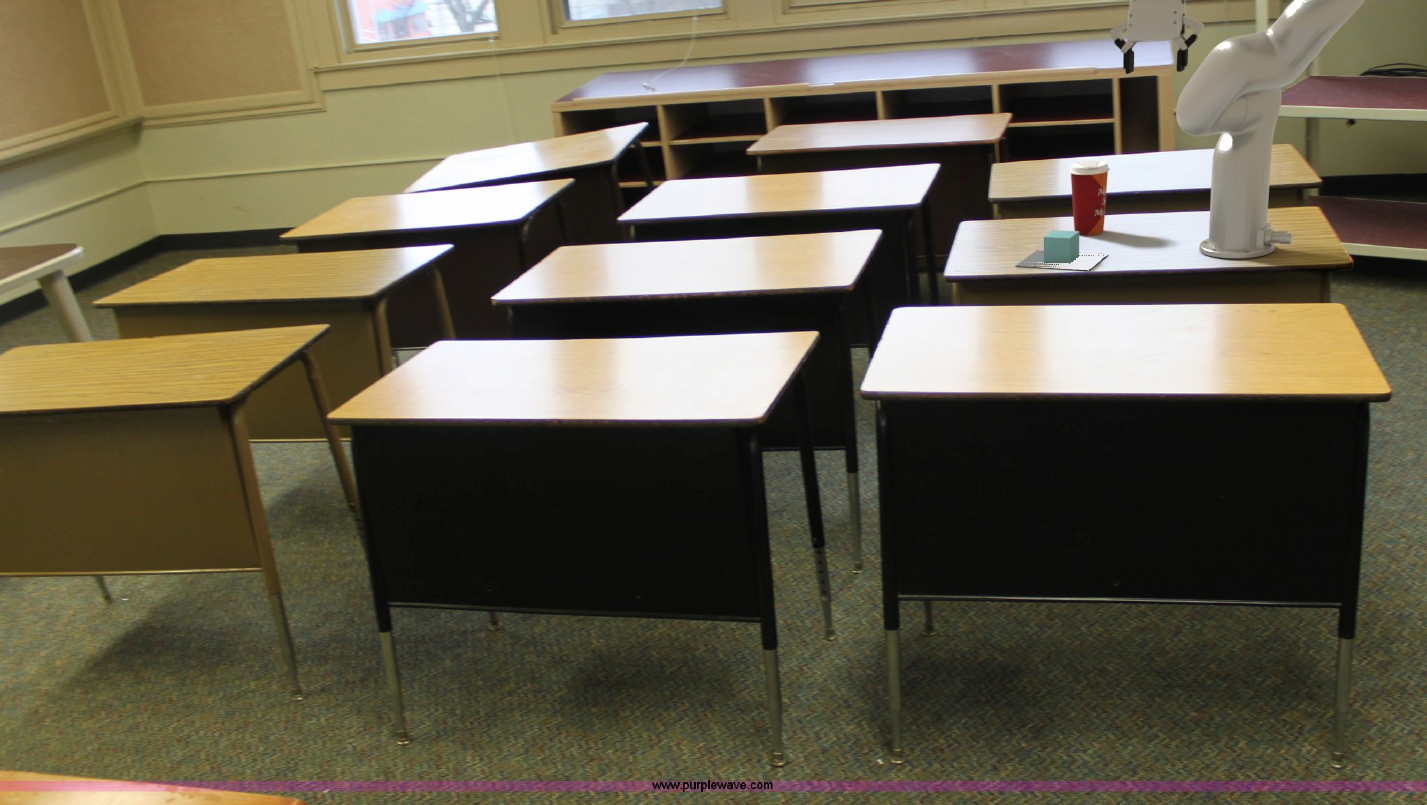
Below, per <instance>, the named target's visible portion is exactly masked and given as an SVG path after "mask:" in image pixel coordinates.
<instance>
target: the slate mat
mask: <svg viewBox="0 0 1427 805" xmlns="http://www.w3.org/2000/svg"><path fill="white" fill-rule="evenodd" d="M1079 256H1080V255H1079ZM1081 256H1083V255H1081ZM1084 256H1085V255H1084ZM1086 256H1087V255H1086ZM1088 256H1090V255H1088ZM1091 256H1092V255H1091ZM1093 256H1094V255H1093ZM1098 256H1099V255H1098ZM1103 256H1104V255H1103ZM1025 262H1026V263H1025ZM1028 262H1029V263H1028ZM1030 262H1031V263H1030ZM1032 262H1033V263H1032ZM1035 262H1036V263H1035ZM1037 262H1043V263H1044V250H1040V249H1038V250H1034V252H1032V253H1031V254H1030V255H1028V256H1027V257H1025V258H1024V259H1023V260H1021V261H1019V262H1018V263H1017V264H1016V265H1015V266H1017V267H1016V268H1027V267H1050V266H1046V265H1053V264H1047V263H1046V264H1045V263H1044V264H1043V263H1037ZM1030 265H1031V266H1030ZM1032 265H1033V266H1032ZM1037 265H1038V266H1037ZM1039 265H1045V266H1039ZM1054 265H1055V264H1054ZM1056 265H1057V264H1056ZM1058 265H1059V264H1058ZM1018 266H1019V267H1018ZM1051 267H1052V266H1051ZM1053 267H1054V266H1053ZM1055 267H1056V266H1055Z"/></svg>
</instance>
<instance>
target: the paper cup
mask: <svg viewBox="0 0 1427 805" xmlns="http://www.w3.org/2000/svg"><path fill="white" fill-rule="evenodd" d="M1108 166H1109V165H1108V163H1107V161H1103V160H1086V161H1085V160H1084V161H1079V162H1074V163H1072V164H1071V166H1070V169H1069V173H1070V182H1071V195H1072V196H1071V198H1072V199H1071V200H1072V215H1073V226H1074V227H1073V229H1074V230H1073V231H1079V236H1081V235H1085V236H1084V237H1089V236H1088V235H1093V236H1098V235H1102V234H1103V232H1104V228H1105V215H1106V203H1107V191H1108V190H1107V187H1108V176H1109V175H1108V174H1109V171H1110V168H1109V167H1108ZM1086 235H1087V236H1086Z"/></svg>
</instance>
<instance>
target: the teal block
mask: <svg viewBox="0 0 1427 805" xmlns="http://www.w3.org/2000/svg"><path fill="white" fill-rule="evenodd" d="M1043 251H1044V263H1069V264H1070V263H1071V262H1073V261H1074V260H1076V258H1078V257H1079V253H1080V235H1079V231H1075V230H1057V229H1056V230H1054V229H1053V230H1052V231H1051V232H1049V233H1047V234H1046V235H1044V236H1043Z"/></svg>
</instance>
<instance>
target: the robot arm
mask: <svg viewBox="0 0 1427 805" xmlns="http://www.w3.org/2000/svg"><path fill="white" fill-rule="evenodd" d="M1365 1H1366V0H1293V1H1291V2H1290V3H1289V4H1288V5H1287V6H1286V8H1285V9H1284V10H1283V12H1282V13H1281V14H1280V15H1279V17H1278V18H1277V19H1276V20H1275V22H1274V23H1273V24H1272V25H1270V26H1269V27H1268V28H1267V29H1264V30H1262V31H1258V32H1254V33H1248V34H1241V35H1236V36H1232V37H1229V38H1226V39H1225V40H1223V41H1221V42H1220V43H1218V44H1216V46H1214V47H1213V48H1212V49H1211V50H1210V52H1209V53H1208V54H1207V56H1206V57H1205V58H1204V60H1203V61H1202V62H1201V64H1200V65H1199V67H1198V68H1197V69H1196V71H1195V72H1194V74H1192V77H1190V79H1189V80H1188V82H1187V83H1186V85H1184V87H1183V89H1182V91H1181V92H1180V95H1179V97H1178V100H1177V103H1176V109H1175V116H1176V121H1177V125H1178V127H1180V129H1181V130H1182V131H1183V132H1184V133H1186V134H1188V135H1190V136H1194V137H1207V136H1213V135H1219V134H1220V136H1219V138H1218V140H1217V142H1216V145H1215V147H1214V151H1213V154H1212V163H1211V164H1212V165H1211V186H1210V188H1211V189H1210V207H1209V224H1208V225H1209V226H1208V227H1209V229H1208V238H1207V239H1204V240H1202V241H1201V242H1200V243H1199V252H1201V253H1202V254H1204V255H1206V256H1210V257H1214V258H1218V259H1219V258H1221V259H1233V260H1234V259H1252V258H1259V257H1262V256H1267V255H1269V254H1271V253H1273V252H1274V251H1275V248H1276V244H1280V245H1292V242H1293V236H1294V235H1293V233H1291V232H1290V233H1289V231H1288V230H1286V231H1285V230H1279V231H1278V230H1274V229H1273V228H1272V222H1268V211H1269V194H1270V179H1271V178H1270V177H1271V164H1272V151H1273V141H1274V135H1275V129H1276V125H1277V121H1278V118H1279V114H1280V111H1281V107H1282V102H1283V101H1282V100H1283V99H1282V98H1283V97H1282V96H1283V95H1282V89H1281V88H1284V87H1286V86H1288V85H1290V84H1292V83H1293V82H1295V81H1296V80H1297V79H1298V78H1299V77H1300V76H1301V75H1302V73H1303V72H1305V70H1306V69H1307V67H1308V66H1309V65H1310V64H1311V63H1312V62H1313V60H1315V58H1316V57H1317V56H1318V55H1319V53H1320V52H1321V51H1322V50H1323V49H1324V47H1325V46H1326V45H1327V44H1328V43H1329V42H1330V40H1331V38H1333V36H1334V35H1335V34H1336V33H1337V32H1338V31H1339V30H1340V29H1341V28H1342V27H1343V26H1344V25H1345V24H1346V23H1347V21H1348V20H1349V19H1350V18H1351V17H1352V16H1354V14H1355V13H1356V12H1357V11H1358V10H1359V9H1360V7H1361V6H1362V5H1363V3H1365ZM1186 3H1187V2H1186V0H1129V6H1128V12H1127V13H1128V14H1127V19H1126V20H1125V21H1123V22H1122V23H1120V24H1118V25H1117V26H1115V27H1113V28H1111V29H1110V30H1109V34H1110V36H1111V38H1112V40H1113V43H1114V45H1115V46H1116V47H1117V48H1118V49H1119V50H1120V52H1121V53H1123V59H1122V60H1123V62H1122V63H1123V64H1122V65H1123V66H1122V67H1123V70H1125V71H1124V73H1125V74H1126V75H1129V74H1131V73H1133V72H1135V51H1134V50H1133V48H1134V47H1135V45H1136V44H1137V43H1149V42H1151V43H1152V42H1166V41H1168V42H1169V41H1173V42H1174V43H1175V44H1176V45H1177V47H1178V48H1179V49H1178V50H1177V52H1176V72H1177V73H1181V72H1183V71H1185V69H1186V68H1187V67H1188V63H1189V61H1188V60H1189V48H1190V47H1192V45H1193V44H1194V43H1195V42H1196V41H1197V40H1198V39H1199V37H1200V35H1201V33H1202V32H1203V29H1204V28H1205V24H1204V23H1203V22H1201V21H1199V20H1196V19H1195V18H1192V17H1190V16H1187V6H1186V5H1187V4H1186ZM1187 27H1190V28H1192V33H1191V34H1190V36H1188V38H1187V37H1186V36H1185V35H1186V33H1187ZM1124 30H1126V36H1127V41H1126V40H1124V38H1122V37H1121V32H1123V31H1124Z"/></svg>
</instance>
